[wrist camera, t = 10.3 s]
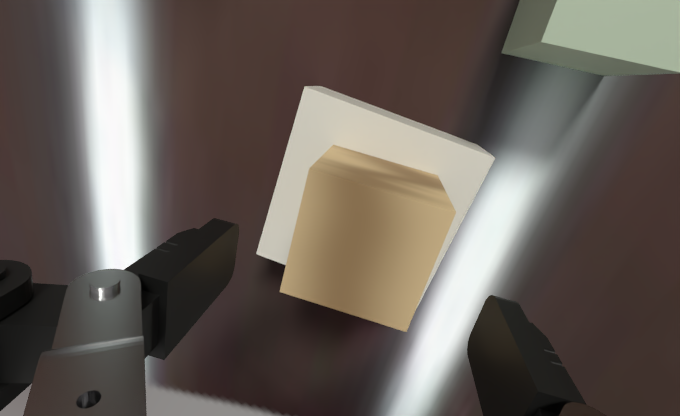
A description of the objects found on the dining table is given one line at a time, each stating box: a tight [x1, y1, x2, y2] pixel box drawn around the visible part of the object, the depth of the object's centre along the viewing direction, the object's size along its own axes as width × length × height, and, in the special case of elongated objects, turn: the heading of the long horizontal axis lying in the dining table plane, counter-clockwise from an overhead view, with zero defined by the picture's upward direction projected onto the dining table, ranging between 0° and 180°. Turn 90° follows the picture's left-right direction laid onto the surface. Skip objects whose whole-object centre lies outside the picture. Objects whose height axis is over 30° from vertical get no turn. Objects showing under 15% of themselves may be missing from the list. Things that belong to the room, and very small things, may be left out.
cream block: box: [256, 86, 495, 307], centre depth 19 cm, size 9×9×4 cm
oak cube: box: [280, 145, 456, 332], centre depth 15 cm, size 5×5×5 cm
